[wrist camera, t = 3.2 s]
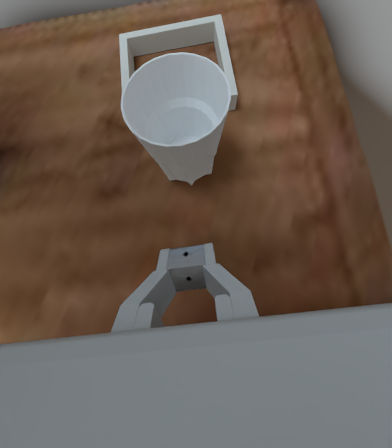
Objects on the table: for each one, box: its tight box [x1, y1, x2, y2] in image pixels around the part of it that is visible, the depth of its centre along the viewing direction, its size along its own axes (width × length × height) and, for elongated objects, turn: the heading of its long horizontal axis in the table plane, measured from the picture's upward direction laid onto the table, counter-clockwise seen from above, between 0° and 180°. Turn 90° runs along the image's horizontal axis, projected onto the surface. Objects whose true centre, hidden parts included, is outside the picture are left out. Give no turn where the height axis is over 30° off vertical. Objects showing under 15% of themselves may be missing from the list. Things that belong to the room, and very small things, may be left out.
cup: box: [121, 52, 231, 185], centre depth 20 cm, size 10×10×10 cm
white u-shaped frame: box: [119, 14, 238, 111], centre depth 27 cm, size 15×16×2 cm
